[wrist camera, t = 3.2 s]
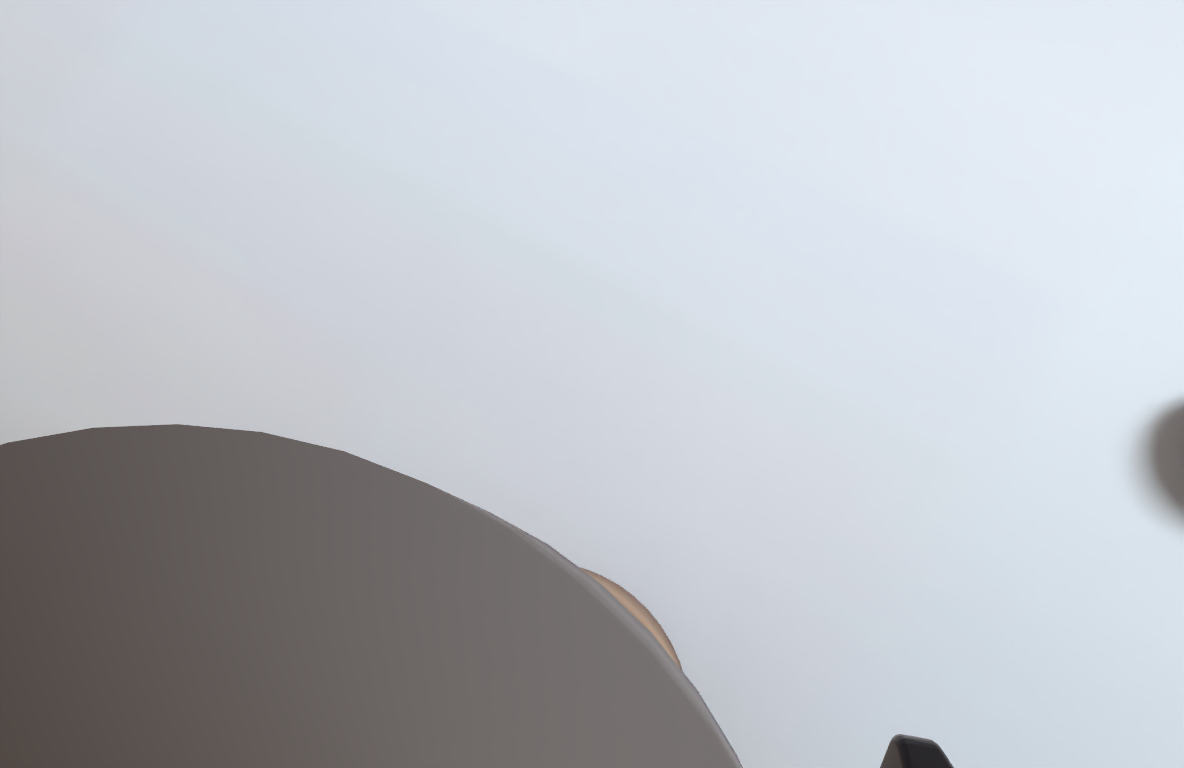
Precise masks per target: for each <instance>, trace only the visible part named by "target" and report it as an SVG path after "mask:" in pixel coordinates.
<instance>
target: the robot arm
mask: <svg viewBox="0 0 1184 768" xmlns="http://www.w3.org/2000/svg"><path fill="white" fill-rule="evenodd" d="M880 768H954V767H953V766H952V764H951V763H950V761H949V760H948V758H947V757H946V755H945V754H944V752H943V750H942V749H941V748H940V746H939V745H938V744H936V743H935V742H934V741H932V740H929V739H925V738H919V737H914V736H908V735H902V734H898V735H896V736H894V737H893V738H892V740H891V741H890V744H889V746H888V749H887V751H886V754H885V756H884V759H883V761H882V764H881V767H880Z"/></svg>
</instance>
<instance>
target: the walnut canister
mask: <svg viewBox="0 0 1184 768" xmlns="http://www.w3.org/2000/svg"><path fill="white" fill-rule="evenodd" d="M0 768H743V767H742V765H741V763H740V761H739V759H738V757H737V755H736V753H735V751H734V750H733V748H732V746H731V745H730V743H729V741H728V740H727V738H726V736H725V735H724V733H723V732H722V730H721V728H720V727H719V725H718V723H717V722H716V720H715V718H714V717H713V715H712V714H711V712H710V710H709V709H708V707H707V705H706V704H705V702H704V700H703V699H702V697H701V696H700V694H699V692H698V691H697V689H696V688H695V687H694V685H693V684H692V683H691V682H690V680H689V679H688V678H687V677H686V675H685V674H684V673H683V671H682V668H681V665H680V661H679V659H678V657H677V655H676V652H675V650H674V648H673V646H672V644H671V642H670V640H669V638H668V637H667V635H666V634H665V632H664V630H663V629H662V627H661V625H660V624H659V623H658V622H657V620H656V619H655V618H654V617H653V615H652V614H651V613H650V612H649V610H648V609H647V608H646V607H645V606H644V605H642V604H641V603H640V602H639V601H638V600H637V599H636V598H635V597H634V596H633V595H631V594H630V593H629V592H627V591H626V590H625V589H623V588H622V587H621V586H619V585H618V584H616V583H614V582H612V581H610V580H609V579H607V578H605V577H603V576H601V575H599V574H596V573H594V572H591V571H588V570H586V569H583V568H579V567H578V566H576V565H575V564H574V563H572V562H571V561H569V560H568V559H567V558H565V557H564V556H563V555H561V554H560V553H559V552H557V551H556V550H555V549H553V548H552V547H551V546H549V545H548V544H546V543H544V542H542V541H541V540H539V539H537V538H535V537H533V536H532V535H530V534H528V533H526V532H524V531H523V530H521V529H519V528H517V527H515V526H514V525H512V524H510V523H508V522H506V521H504V520H503V519H501V518H499V517H497V516H495V515H494V514H492V513H490V512H488V511H485V510H483V509H481V508H479V507H477V506H475V505H472V504H470V503H468V502H466V501H464V500H462V499H459V498H457V497H455V496H453V495H451V494H449V493H446V492H444V491H442V490H440V489H438V488H436V487H433V486H431V485H429V484H427V483H425V482H422V481H419V480H417V479H414V478H412V477H409V476H406V475H404V474H401V473H399V472H396V471H393V470H391V469H388V468H386V467H383V466H381V465H378V464H375V463H373V462H370V461H368V460H365V459H362V458H360V457H357V456H355V455H352V454H349V453H347V452H344V451H340V450H336V449H331V448H327V447H323V446H318V445H314V444H310V443H306V442H301V441H297V440H293V439H289V438H284V437H280V436H276V435H271V434H267V433H263V432H254V431H243V430H233V429H222V428H211V427H200V426H190V425H179V424H174V425H151V426H127V427H103V428H90V429H84V430H78V431H73V432H67V433H61V434H55V435H50V436H44V437H38V438H33V439H27V440H21V441H15V442H10V443H6V444H3V445H0Z"/></svg>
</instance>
